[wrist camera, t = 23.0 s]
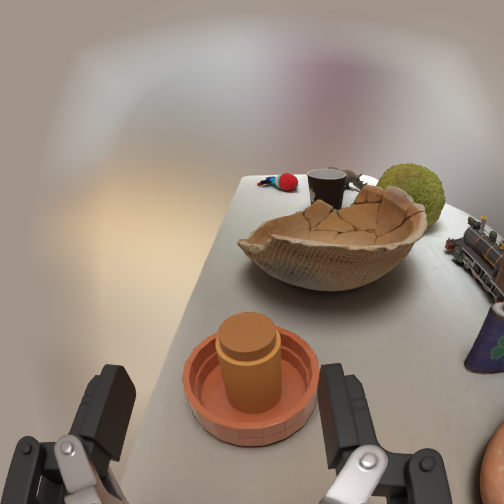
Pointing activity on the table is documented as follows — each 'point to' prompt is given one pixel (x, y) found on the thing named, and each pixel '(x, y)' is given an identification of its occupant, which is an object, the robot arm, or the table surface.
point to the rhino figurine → (351, 179)
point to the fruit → (417, 187)
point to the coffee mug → (327, 186)
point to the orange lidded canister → (250, 361)
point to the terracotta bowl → (244, 424)
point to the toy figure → (282, 181)
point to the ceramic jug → (493, 470)
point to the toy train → (481, 256)
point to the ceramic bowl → (339, 240)
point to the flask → (489, 344)
